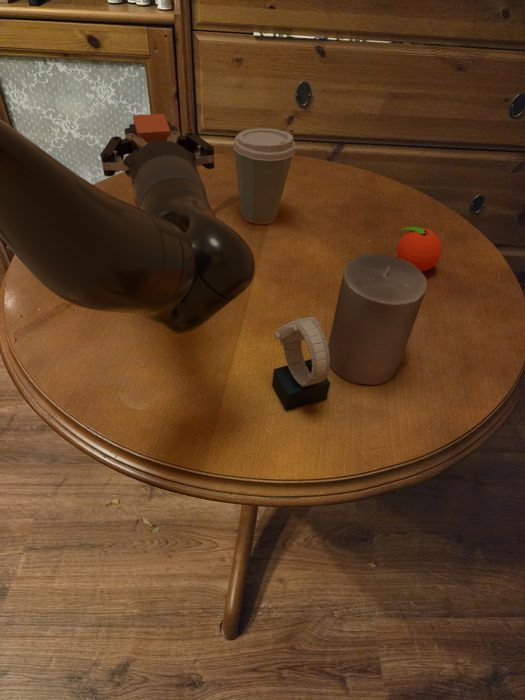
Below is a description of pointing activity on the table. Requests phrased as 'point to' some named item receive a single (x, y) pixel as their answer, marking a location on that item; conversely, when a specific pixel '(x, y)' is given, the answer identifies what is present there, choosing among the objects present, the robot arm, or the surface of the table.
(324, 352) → the watch
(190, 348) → the table surface
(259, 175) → the disposable coffee cup
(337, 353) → the pillar candle
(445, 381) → the table surface
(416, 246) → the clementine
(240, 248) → the robot arm
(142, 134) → the red rectangular block
